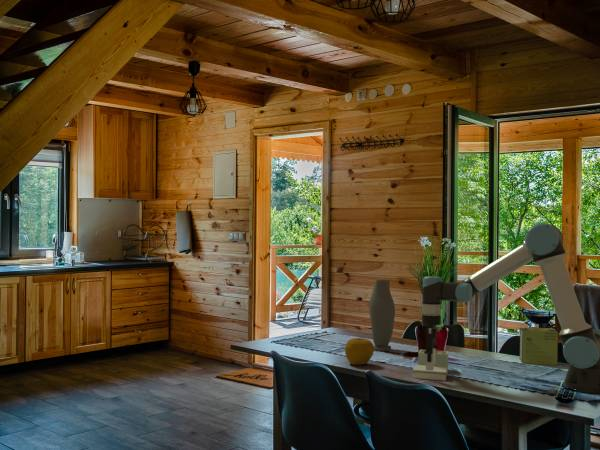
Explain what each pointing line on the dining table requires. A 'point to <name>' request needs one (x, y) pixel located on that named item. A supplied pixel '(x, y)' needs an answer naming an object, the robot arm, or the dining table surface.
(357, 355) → the apple
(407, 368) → the dining table surface
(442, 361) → the tub
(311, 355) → the dining table surface
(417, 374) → the lid
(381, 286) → the vase
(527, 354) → the protein box
